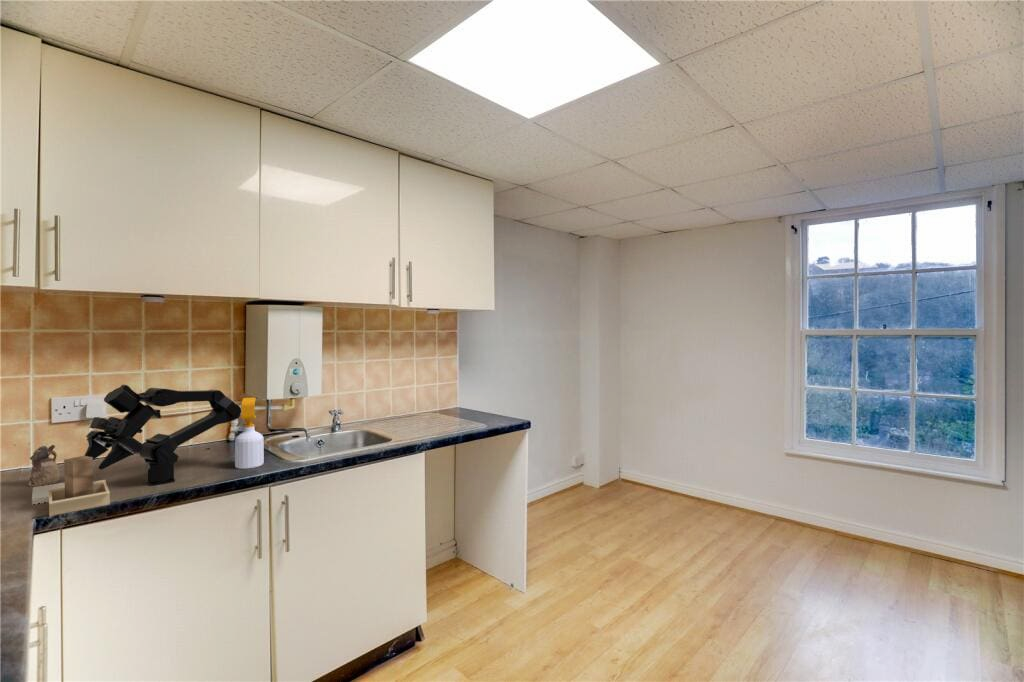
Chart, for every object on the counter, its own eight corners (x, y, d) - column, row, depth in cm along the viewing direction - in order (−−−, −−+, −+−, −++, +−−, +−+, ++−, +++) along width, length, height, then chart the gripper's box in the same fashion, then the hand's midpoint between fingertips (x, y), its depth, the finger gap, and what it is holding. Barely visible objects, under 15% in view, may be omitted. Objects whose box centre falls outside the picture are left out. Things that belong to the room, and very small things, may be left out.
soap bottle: (264, 461, 177) (264, 395, 177) (262, 467, 169) (261, 399, 168) (237, 463, 174) (236, 397, 173) (233, 470, 166) (232, 400, 165)
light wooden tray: (105, 492, 143) (105, 479, 143) (110, 505, 132) (110, 492, 132) (49, 502, 135) (48, 489, 135) (49, 517, 124) (49, 503, 124)
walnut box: (84, 500, 136) (83, 455, 136) (93, 502, 135) (92, 457, 134) (64, 505, 132) (64, 459, 132) (73, 508, 131) (72, 461, 130)
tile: (77, 484, 149) (77, 480, 149) (80, 496, 140) (80, 491, 140) (32, 492, 142) (32, 487, 142) (32, 505, 133) (31, 499, 132)
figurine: (33, 481, 153) (32, 444, 152) (62, 478, 156) (62, 442, 156) (25, 487, 146) (24, 449, 146) (55, 484, 150) (55, 446, 150)
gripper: (93, 404, 144) (47, 448, 134) (130, 408, 137) (84, 455, 127) (123, 425, 151) (81, 468, 142) (160, 430, 144) (118, 476, 134)
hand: (90, 466), depth 136 cm, fingers open, 9 cm apart
